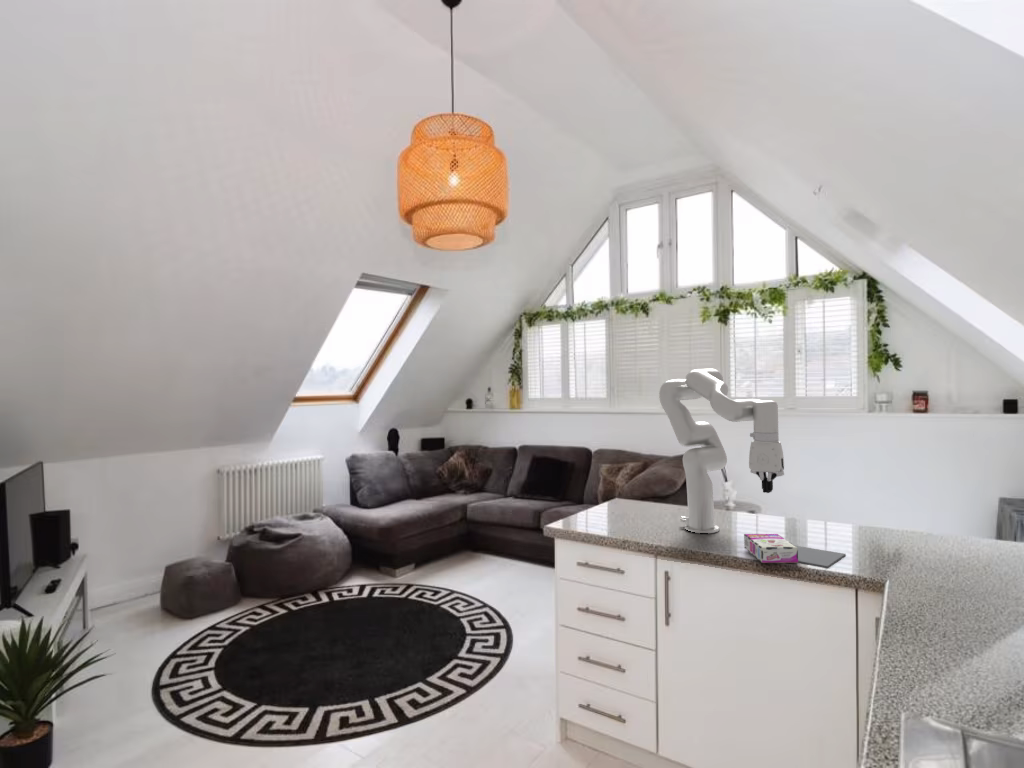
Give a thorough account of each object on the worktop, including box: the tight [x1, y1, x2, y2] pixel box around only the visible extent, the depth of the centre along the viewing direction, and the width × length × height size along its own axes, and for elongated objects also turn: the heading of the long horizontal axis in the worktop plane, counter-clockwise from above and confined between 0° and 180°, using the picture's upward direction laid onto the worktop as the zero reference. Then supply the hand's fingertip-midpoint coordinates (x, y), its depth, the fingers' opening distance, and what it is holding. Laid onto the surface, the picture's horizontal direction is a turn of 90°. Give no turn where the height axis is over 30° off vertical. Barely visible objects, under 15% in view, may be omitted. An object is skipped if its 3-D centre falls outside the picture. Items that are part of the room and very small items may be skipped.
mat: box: [793, 544, 846, 569], centre depth 180 cm, size 20×16×1 cm
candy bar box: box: [743, 533, 798, 564], centre depth 180 cm, size 11×5×16 cm
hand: (767, 491), depth 188 cm, fingers closed
